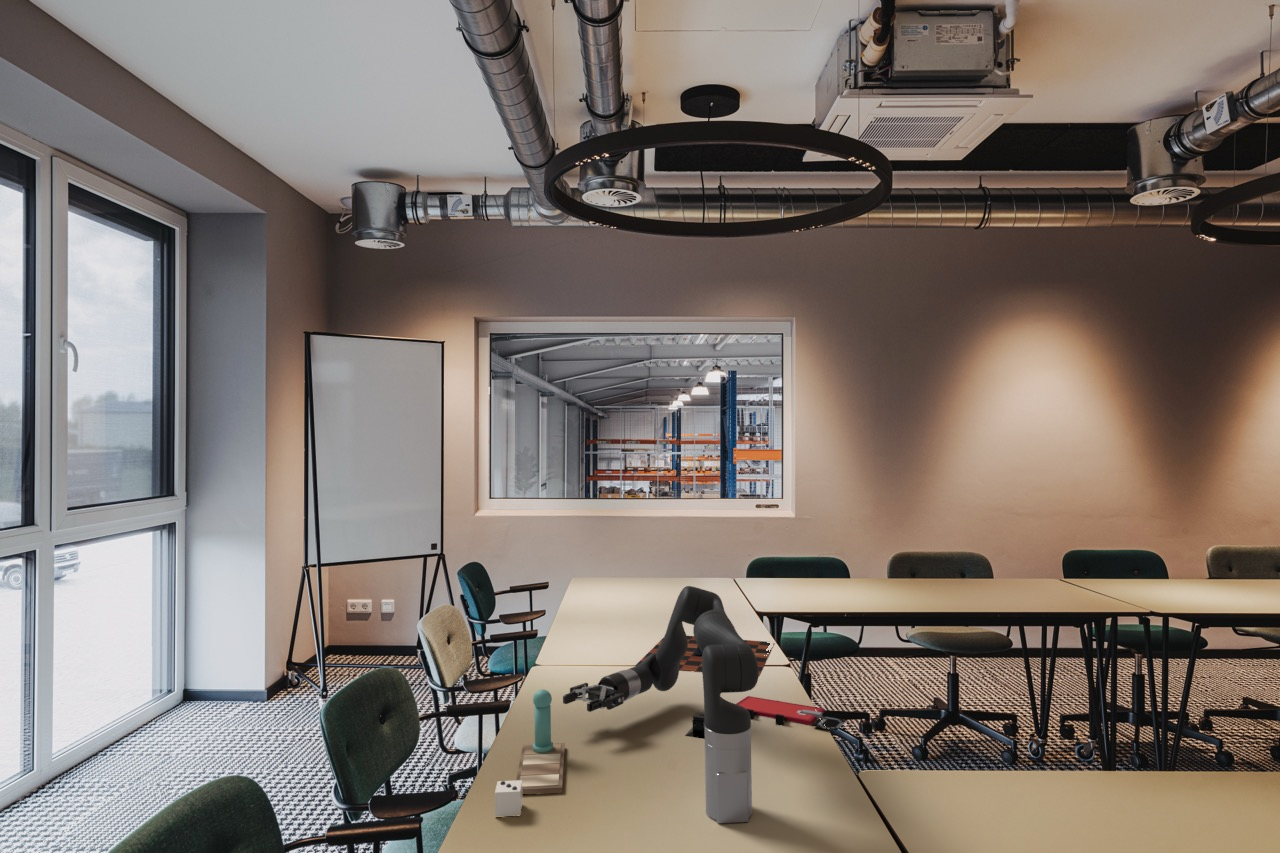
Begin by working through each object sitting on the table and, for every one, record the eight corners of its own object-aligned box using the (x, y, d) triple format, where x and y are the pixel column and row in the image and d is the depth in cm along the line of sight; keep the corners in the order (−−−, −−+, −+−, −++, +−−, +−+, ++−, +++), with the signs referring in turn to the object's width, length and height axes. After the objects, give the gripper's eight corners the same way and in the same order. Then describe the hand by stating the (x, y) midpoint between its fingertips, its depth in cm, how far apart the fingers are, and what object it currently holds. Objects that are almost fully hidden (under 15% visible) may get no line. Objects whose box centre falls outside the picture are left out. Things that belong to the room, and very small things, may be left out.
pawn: (552, 752, 182) (552, 692, 182) (532, 753, 182) (531, 693, 182) (553, 744, 187) (552, 686, 187) (533, 745, 187) (532, 687, 187)
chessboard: (635, 668, 252) (635, 634, 252) (667, 636, 290) (666, 607, 291) (759, 679, 241) (758, 644, 241) (774, 645, 279) (774, 614, 279)
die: (520, 816, 155) (520, 788, 155) (495, 817, 155) (494, 790, 155) (522, 804, 160) (522, 777, 160) (497, 805, 160) (497, 778, 160)
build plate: (706, 744, 191) (705, 725, 191) (678, 740, 194) (677, 721, 194) (721, 725, 202) (720, 708, 202) (694, 722, 205) (694, 704, 205)
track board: (562, 793, 165) (562, 786, 165) (514, 795, 164) (514, 788, 164) (564, 748, 188) (564, 742, 188) (523, 749, 187) (522, 744, 187)
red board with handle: (834, 736, 193) (852, 718, 206) (834, 725, 193) (852, 707, 206) (724, 716, 209) (747, 701, 222) (724, 706, 209) (747, 691, 222)
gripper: (600, 667, 210) (555, 682, 197) (640, 677, 200) (596, 694, 188) (600, 695, 210) (556, 712, 197) (640, 707, 200) (596, 725, 188)
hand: (575, 703), depth 193 cm, fingers open, 8 cm apart
